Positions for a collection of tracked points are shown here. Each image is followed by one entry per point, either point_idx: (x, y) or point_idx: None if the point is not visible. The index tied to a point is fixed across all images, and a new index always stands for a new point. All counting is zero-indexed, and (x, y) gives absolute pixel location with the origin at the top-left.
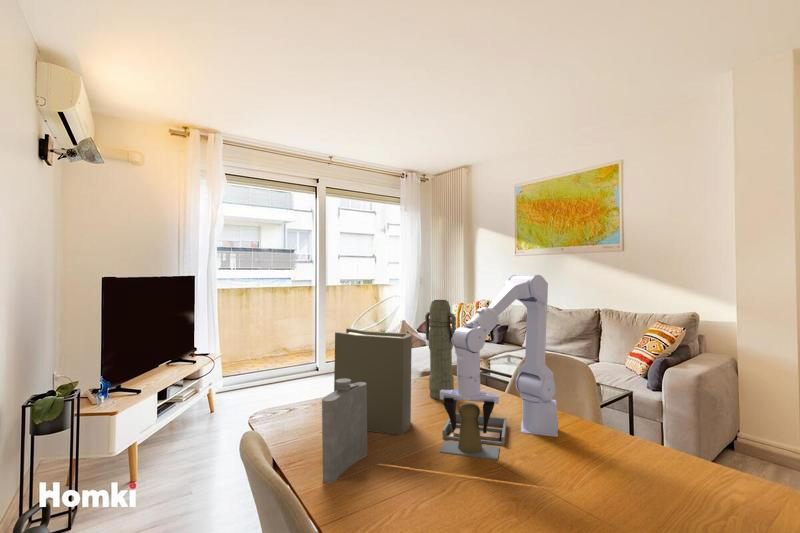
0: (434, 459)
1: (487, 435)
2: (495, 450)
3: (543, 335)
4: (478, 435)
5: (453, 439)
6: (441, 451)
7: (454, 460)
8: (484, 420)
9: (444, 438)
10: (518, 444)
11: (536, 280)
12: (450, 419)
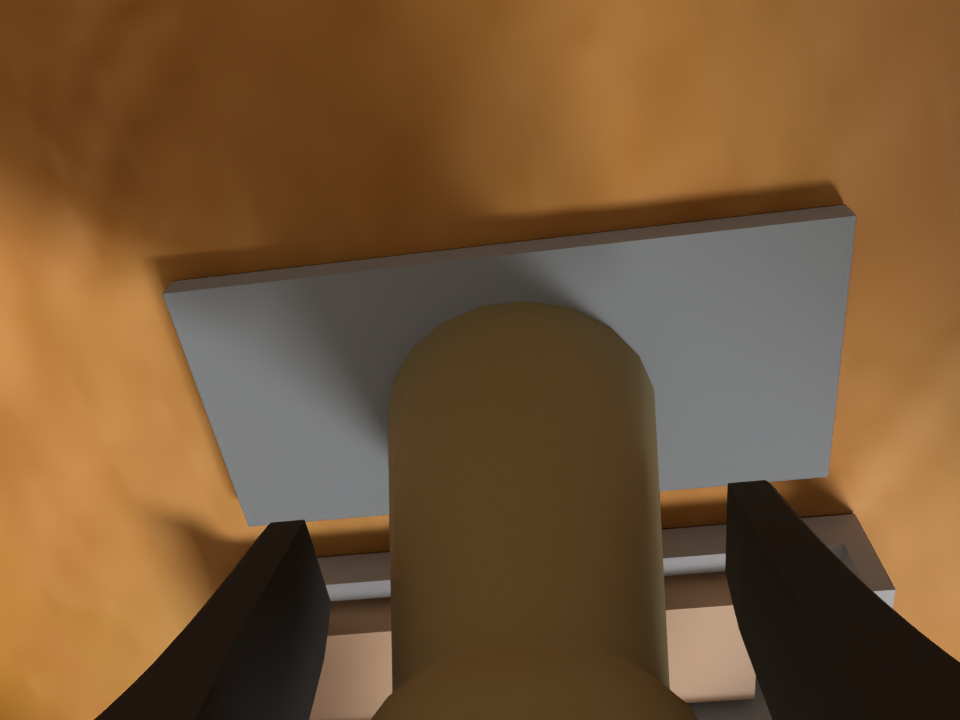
0: (894, 35)
1: None
2: (257, 455)
3: None
4: (393, 505)
5: None
6: (831, 223)
7: (633, 116)
8: (210, 661)
9: (838, 526)
10: (147, 641)
11: None
12: (854, 577)
